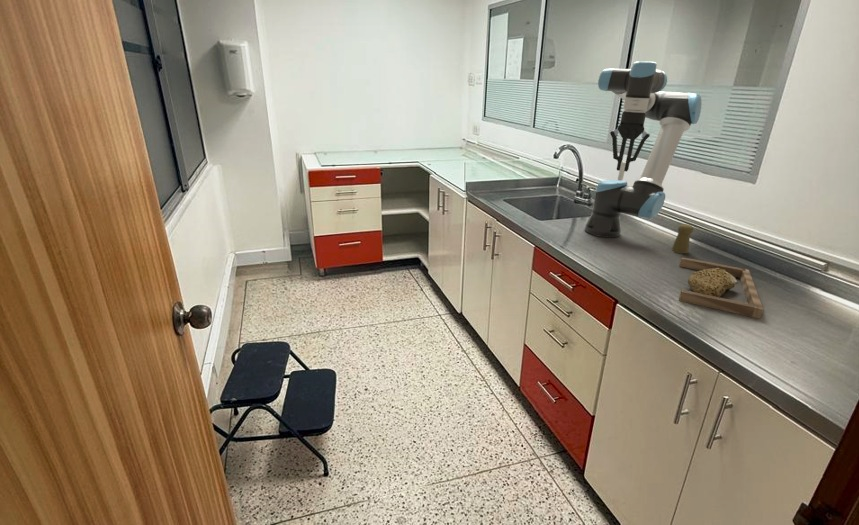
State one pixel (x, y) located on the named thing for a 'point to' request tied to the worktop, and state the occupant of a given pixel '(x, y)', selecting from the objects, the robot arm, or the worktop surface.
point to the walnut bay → (749, 309)
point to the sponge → (711, 281)
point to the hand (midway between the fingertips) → (620, 179)
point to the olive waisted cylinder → (682, 239)
